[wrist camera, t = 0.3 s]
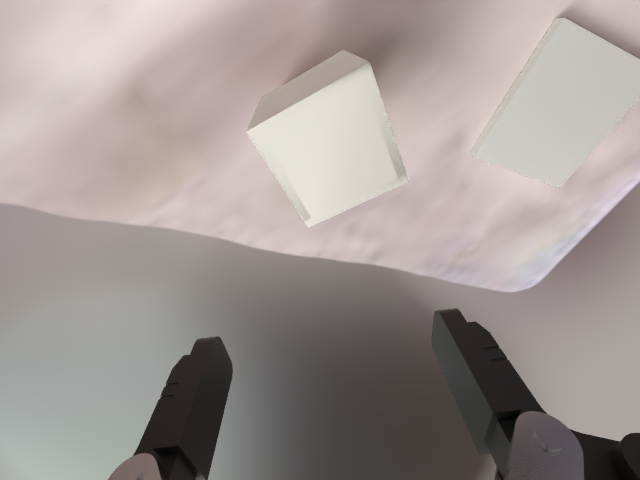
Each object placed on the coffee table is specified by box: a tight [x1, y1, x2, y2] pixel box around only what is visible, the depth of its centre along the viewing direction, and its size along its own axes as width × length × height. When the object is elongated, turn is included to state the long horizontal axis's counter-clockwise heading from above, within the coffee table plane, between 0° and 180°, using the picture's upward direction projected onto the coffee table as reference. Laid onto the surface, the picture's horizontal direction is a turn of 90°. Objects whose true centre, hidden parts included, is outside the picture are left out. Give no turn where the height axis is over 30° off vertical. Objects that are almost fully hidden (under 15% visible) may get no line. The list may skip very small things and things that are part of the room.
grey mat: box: [469, 18, 640, 188], centre depth 28 cm, size 12×12×1 cm
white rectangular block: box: [246, 50, 409, 227], centre depth 18 cm, size 6×6×8 cm
